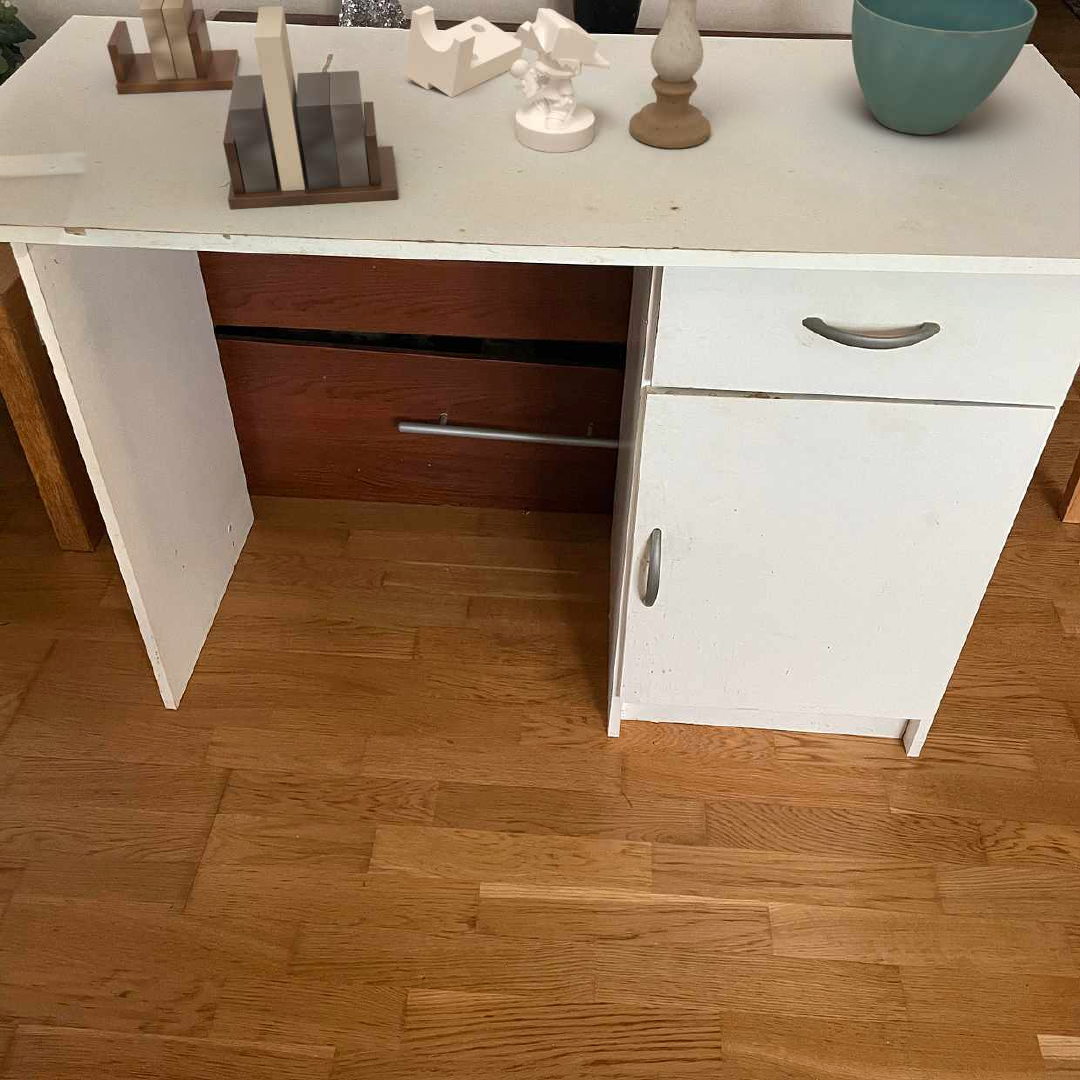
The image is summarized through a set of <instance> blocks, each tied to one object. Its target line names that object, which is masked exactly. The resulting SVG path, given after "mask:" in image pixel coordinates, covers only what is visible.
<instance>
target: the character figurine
mask: <svg viewBox="0 0 1080 1080" xmlns="http://www.w3.org/2000/svg"><path fill="white" fill-rule="evenodd" d="M513 38H515V39H517V40H519V41H521V46H520V47H523V49H528V50H531V51H535V52H537V57H538V58H537V59H536V61H534V67H533V68H531V69H530V65H529V62H528V61H527V60H526V59H523V58H521V59H520V60H517V61H515V62H514V63H513V65H512V67H511V69H510V74H511V77H512V78H514V79H516V80H520V81H519V82H517V83H516V84H515V85H514V86H515V88H516V89H517V91H521V92H522V94H523V95H524V97H525V98H526V100H527V99H529V98H531V97H533V96H534V95H535V94H537V93H538V92H539V91H540V90H541V89H542V86H544V87H543V89H542V90H541V93H540V94H541V96H542V98H541V99H537V100H536V101H533V102H531V103H528V104H525V105H524V106H522V107H520V108H519V109H518V110H517V111H516V113H515V117H514V118H515V120H514V121H515V125H514V126H515V132H514V133H515V138H516V140H517V141H518V142H519V143H520V144H521V145H523V146H525V147H527V148H529V149H532V150H535V151H539V152H546V153H568V152H569V153H570V152H574V151H579V150H581V149H583V148H586V147H587V146H589V145H590V144H591V143H592V142H593V141H594V138H595V137H594V136H595V120H596V119H595V114H594V113H593V112H592V111H591V110H590V109H589V108H588V107H586V106H583V105H581V104H578V103H576V100H575V99H574V98H573V97H575V95H576V94H575V88H574V85H573V81H572V79H573V78H575V77H578V76H579V77H581V72H582V67H583V66H587V67H592V68H599V69H607V70H609V69H610V66H611V64H610V63H609V62H608V60H606V59H605V58H604V57H603V56H602V55H600V54H599V53H598V52H597V47H598V41H597V39H596V38H594V37H593V36H592V35H591V34H590V33H588V32H587V31H586V30H585V29H583V27H581V26H580V25H579V24H578V23H576V22H575V21H572V20H570V19H569V18H567V17H565V16H564V15H562V14H561V13H559V12H557V11H556V10H555V9H551V8H543V7H539V8H538V9H537V13H536V18H535V21H534V22H533V23H531V22H530V21H529V20H526V21H525V22H524V23H522V24H521V25H519V26H518V28H517V30H516V33H515V35H514V36H513ZM540 74H541V75H540Z"/></svg>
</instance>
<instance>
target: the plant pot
mask: <svg viewBox="0 0 1080 1080" xmlns="http://www.w3.org/2000/svg"><path fill="white" fill-rule="evenodd" d="M1037 15H1038V10H1037V8H1036V6H1035V4H1033V3H1032V2H1031V1H1030V0H853V5H852V14H851V51H852V57H853V65H854V68H855V69H854V70H855V74H856V77H857V81H858V84H859V86H860V89H861V92H862V94H863V96H864V99H865V101H866V103H867V105H868V107H869V109H870V111H871V113H872V115H873V116H874V117H875V119H876V120H877V121H878V122H879V123H880V124H881V125H883V126H884V127H886V128H888V129H890V130H893V131H895V132H900V133H905V134H910V135H920V136H921V135H922V136H923V135H924V136H925V135H937V134H941V133H945V132H947V131H949V130H951V129H952V128H954V127H955V126H957V125H958V124H959V123H960V122H962V121H963V120H964V119H966V118H967V117H968V116H969V115H970V114H972V113H973V112H974V111H975V110H976V109H977V108H978V107H979V106H981V105H982V104H983V103H984V102H985V101H986V100H987V99H988V98H989V96H990V95H991V94H992V93H993V92H995V90H996V88H998V87H999V85H1000V83H1001V82H1002V81H1003V80H1004V78H1005V77H1006V76H1007V74H1008V72H1009V71H1010V70H1011V68H1012V67H1013V65H1014V64H1015V62H1016V60H1017V59H1018V57H1019V56H1020V53H1021V52H1022V49H1023V48H1024V46H1025V44H1026V42H1027V40H1028V38H1029V36H1030V33H1031V31H1032V29H1033V26H1034V24H1035V21H1036V18H1037Z"/></svg>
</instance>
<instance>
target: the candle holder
mask: <svg viewBox="0 0 1080 1080" xmlns="http://www.w3.org/2000/svg"><path fill="white" fill-rule="evenodd" d="M697 3H698V0H668V4H667V10H666V15H665V19H664V22H663V24H662V27H661V28H660V30H659V32H658V34H657V36H656V38H655V39H654V42H653V45H652V48H651V51H650V63H651V65H652V68H653V70H654V71H655V73H656V74H657V75H656V76H655V77H653V79H652V81H651V87H652V89H653V91H654V94H655V97H656V100H655V101H653V102H651V103H648V104H645V105H644V106H642V108H641V109H640V111H638V112H636V113H635V114H633V115H632V117H630V119H629V129H628V130H629V133H630V135H631V136H632V137H633V138H634V139H636V140H637V141H639V142H641V143H643V144H644V145H645V144H646V145H649V146H652V147H657V148H663V149H684V148H685V149H686V148H691V147H695V146H698V145H701V144H703V143H705V142H706V141H707V140H708V138H709V137H710V135H711V129H712V126H711V122H710V120H709V119H708V118H707V117H706V116H704V115H703V113H702V111H701V109H699V108H698V107H696V106H695V105H692V104H690V98H691V97H692V95H693V93H694V92H695V91H696V90H697V88H698V84H697V81H696V80H695V78H694V76H695V75H696V74H697V72H699V70H700V69H701V67H702V65H703V62H704V56H705V55H704V54H705V53H704V46H703V42H702V38H701V35H700V32H699V29H698V23H697Z"/></svg>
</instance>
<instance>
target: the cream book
mask: <svg viewBox="0 0 1080 1080" xmlns="http://www.w3.org/2000/svg"><path fill="white" fill-rule="evenodd" d="M257 11H258V12H257V20H256V26H255V33H254V42H255V46H256V52H257V58H258V65H259V71H260V75H261V76H262V82H263V87H264V93H265V98H266V104H267V110H268V115H269V121H270V127H271V132H272V138H273V144H274V149H275V155H276V161H277V166H278V172H279V178H280V183H281V189H282V191H294V190H305V173H306V165H305V159H304V152H303V146H302V140H301V133H300V127H299V120H298V114H297V108H296V102H297V85H296V79H295V74H294V66H293V60H292V54H291V47H290V41H289V35H288V30H287V29H288V27H287V21H286V15H285V9H284V5H274V6H273V5H271V6H270V5H269V6H258V10H257Z"/></svg>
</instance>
